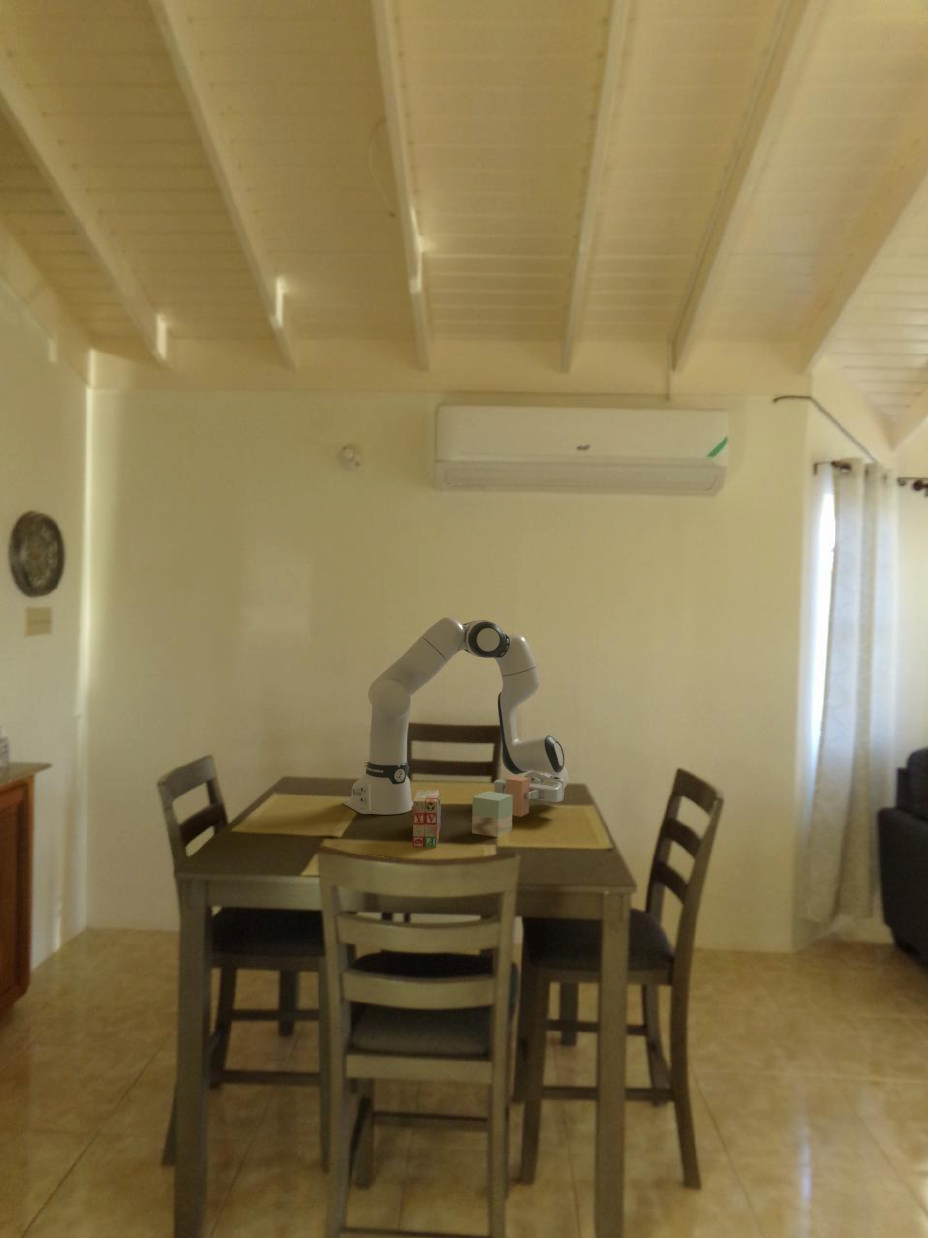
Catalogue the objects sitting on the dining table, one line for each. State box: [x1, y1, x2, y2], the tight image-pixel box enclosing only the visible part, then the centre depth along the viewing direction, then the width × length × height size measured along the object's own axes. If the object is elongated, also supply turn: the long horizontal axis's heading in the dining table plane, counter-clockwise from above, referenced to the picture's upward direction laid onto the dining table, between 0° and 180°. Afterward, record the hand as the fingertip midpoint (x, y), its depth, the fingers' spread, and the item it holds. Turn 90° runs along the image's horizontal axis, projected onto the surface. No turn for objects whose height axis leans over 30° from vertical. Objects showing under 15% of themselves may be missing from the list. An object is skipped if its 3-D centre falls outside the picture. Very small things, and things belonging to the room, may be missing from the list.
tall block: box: [506, 775, 530, 817], centre depth 265 cm, size 5×5×10 cm
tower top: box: [472, 790, 513, 819], centre depth 254 cm, size 8×8×5 cm
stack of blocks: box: [412, 789, 442, 848], centre depth 249 cm, size 21×6×12 cm, turn 179°
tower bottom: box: [471, 814, 513, 838], centre depth 255 cm, size 8×8×5 cm
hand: (516, 794), depth 264 cm, fingers closed on tall block, 5 cm apart
